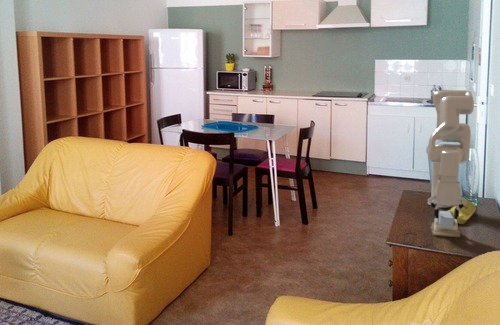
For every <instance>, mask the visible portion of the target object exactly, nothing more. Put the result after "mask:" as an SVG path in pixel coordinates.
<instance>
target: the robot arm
mask: <svg viewBox="0 0 500 325" xmlns="http://www.w3.org/2000/svg"><path fill="white" fill-rule="evenodd" d="M474 100H475V99H474V97H473V94H472V92H471V91H470V90H465V89H464V90H463V89H461V90H460V89H459V90H457V89H451V90H449V89H444V90H443V89H442V90H437V91H435V92H433V94H432V102H433V105H434V106H433V107H434V109H435V111H436V129H435V130H434V131H433V132H432V134H430V137H429V139H428V147H427V148H428V149H427V150H428V152H427V157H428V161H429V162H430V163H432V176H431V177H432V178H431V193H430V194H431V195H430V197H429V198H427V204H428V206H429V205H430V206H431V207H432V208H433V209H434V213H433V215H434V216H433V217H435V218H438V219H439V211H440V210H439V208H445V209H446V208H452V207H453V206H455V207H456V208H455V211H454V218H455V219H457V217H459V210H460V209H461V208H462V207H463V206H464V205H465V204H466V203H467V201H466V200H465V199H466V198H465V197H463V196H462V195H461V194H462V193H461V192H462V191H461V183H460V181H459V170H460V169H459V168H460V164H466V163H467V162H469V158H470V149H471V147H470V146H471V135H472V134H471V127H470V125H469V124H467V123H464V122H463V123H461V122H460V115H471V114H473V112H474V108H475V103H474V102H475V101H474ZM437 140H438V141H439V142H442V143H438V144H436V141H437ZM444 142H445V143H444ZM452 143H453V144H452ZM456 143H459V144H456ZM464 198H465V199H464ZM461 200H462V201H463V202H462V203H461V204H460V201H461Z"/></svg>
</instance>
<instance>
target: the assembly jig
mask: <svg viewBox="0 0 500 325" xmlns="http://www.w3.org/2000/svg"><path fill="white" fill-rule="evenodd" d="M430 230H431V233H432V235H433V236H434V237H446V238H449V237H450V238H453V237H454V238H461V234H460V230H458V229H457V231H456V230H435V231H434V222H431V226H430Z"/></svg>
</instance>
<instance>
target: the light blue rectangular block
mask: <svg viewBox="0 0 500 325" xmlns="http://www.w3.org/2000/svg"><path fill="white" fill-rule="evenodd" d="M438 221H440V224H441V226H442V228H453V222H454V219H453V217H452V215H451V213H450V211H448V210H439V212H438Z"/></svg>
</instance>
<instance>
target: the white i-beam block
mask: <svg viewBox="0 0 500 325" xmlns="http://www.w3.org/2000/svg"><path fill="white" fill-rule="evenodd" d="M433 219H434V220H433V221H434V222H433V223H434V231H435V230H456V231H457V230H458V227H459V226H458V224H459V223H458V222H457V220H456V219H454V222H453V228H442V226H441V224H440V221H439V217H438V218H436V217H434V218H433Z"/></svg>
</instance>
